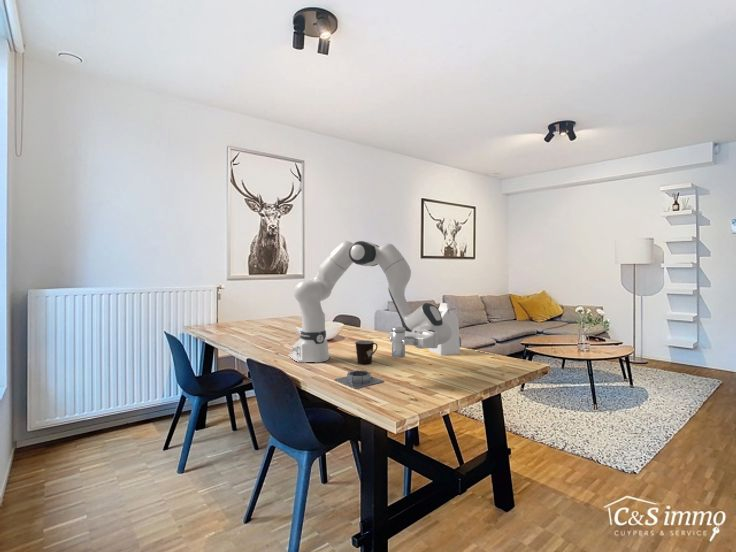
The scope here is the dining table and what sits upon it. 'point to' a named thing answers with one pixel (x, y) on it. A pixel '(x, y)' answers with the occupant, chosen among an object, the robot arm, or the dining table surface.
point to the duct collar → (359, 379)
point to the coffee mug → (365, 351)
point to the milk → (453, 343)
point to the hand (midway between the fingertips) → (396, 341)
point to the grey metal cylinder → (398, 342)
